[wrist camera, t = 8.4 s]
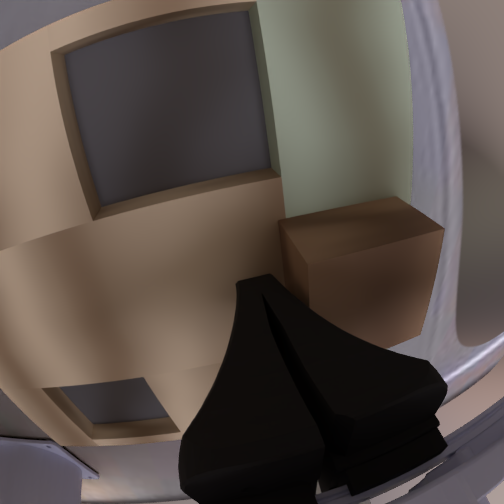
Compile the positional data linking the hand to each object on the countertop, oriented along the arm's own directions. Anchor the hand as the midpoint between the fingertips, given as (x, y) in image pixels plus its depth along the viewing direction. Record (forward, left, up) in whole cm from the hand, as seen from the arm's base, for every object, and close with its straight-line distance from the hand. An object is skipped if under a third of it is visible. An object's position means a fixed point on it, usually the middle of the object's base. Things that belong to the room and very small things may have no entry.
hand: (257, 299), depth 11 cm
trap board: (-4, 0, -2) cm, 5 cm away
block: (+4, 0, -1) cm, 4 cm away
